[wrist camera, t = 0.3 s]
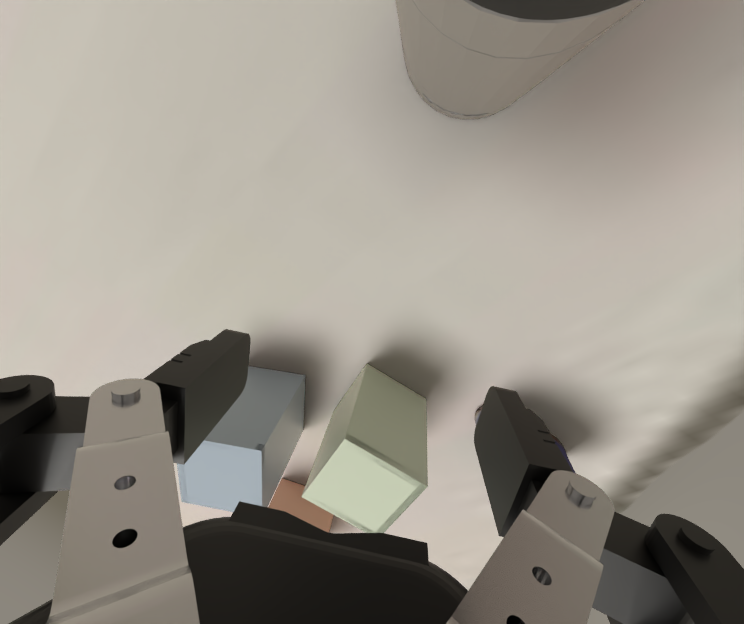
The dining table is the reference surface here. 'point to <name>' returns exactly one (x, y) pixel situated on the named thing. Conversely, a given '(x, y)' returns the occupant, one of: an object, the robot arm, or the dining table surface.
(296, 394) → the blue grey bevelled block
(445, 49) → the robot arm
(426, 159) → the dining table surface
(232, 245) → the dining table surface
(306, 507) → the peach pink block
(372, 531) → the pale green bevelled block
